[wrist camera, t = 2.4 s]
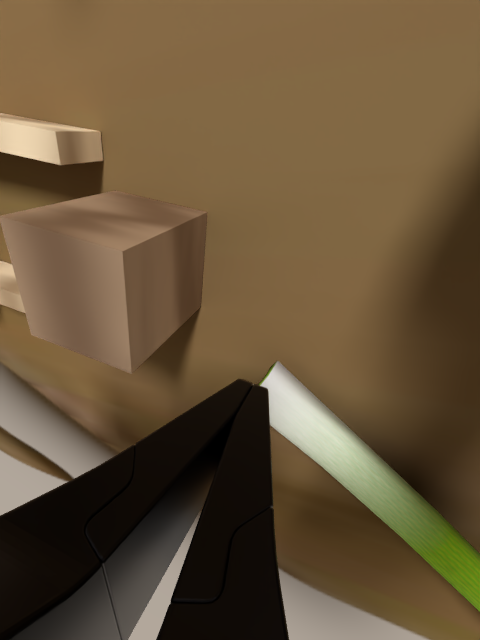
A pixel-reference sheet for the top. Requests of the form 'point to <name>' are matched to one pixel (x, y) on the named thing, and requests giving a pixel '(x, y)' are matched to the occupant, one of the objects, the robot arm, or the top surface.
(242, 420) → the robot arm
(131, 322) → the block
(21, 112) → the top surface
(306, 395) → the leek
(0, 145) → the channel
